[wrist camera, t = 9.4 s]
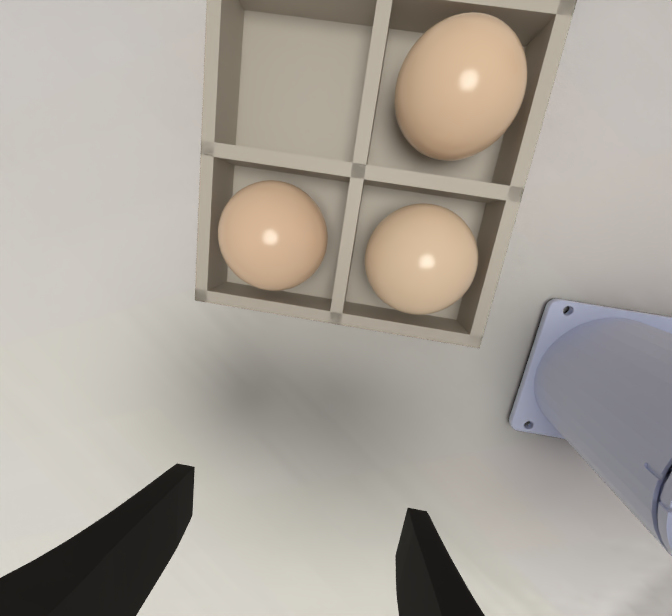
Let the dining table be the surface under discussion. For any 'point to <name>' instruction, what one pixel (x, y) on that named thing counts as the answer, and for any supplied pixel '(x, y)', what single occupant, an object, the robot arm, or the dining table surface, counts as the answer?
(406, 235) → the seated egg
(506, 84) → the loose egg
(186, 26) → the dining table surface
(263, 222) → the seated egg
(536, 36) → the egg tray
